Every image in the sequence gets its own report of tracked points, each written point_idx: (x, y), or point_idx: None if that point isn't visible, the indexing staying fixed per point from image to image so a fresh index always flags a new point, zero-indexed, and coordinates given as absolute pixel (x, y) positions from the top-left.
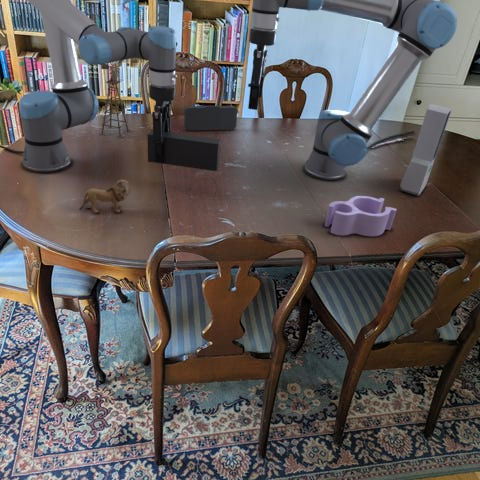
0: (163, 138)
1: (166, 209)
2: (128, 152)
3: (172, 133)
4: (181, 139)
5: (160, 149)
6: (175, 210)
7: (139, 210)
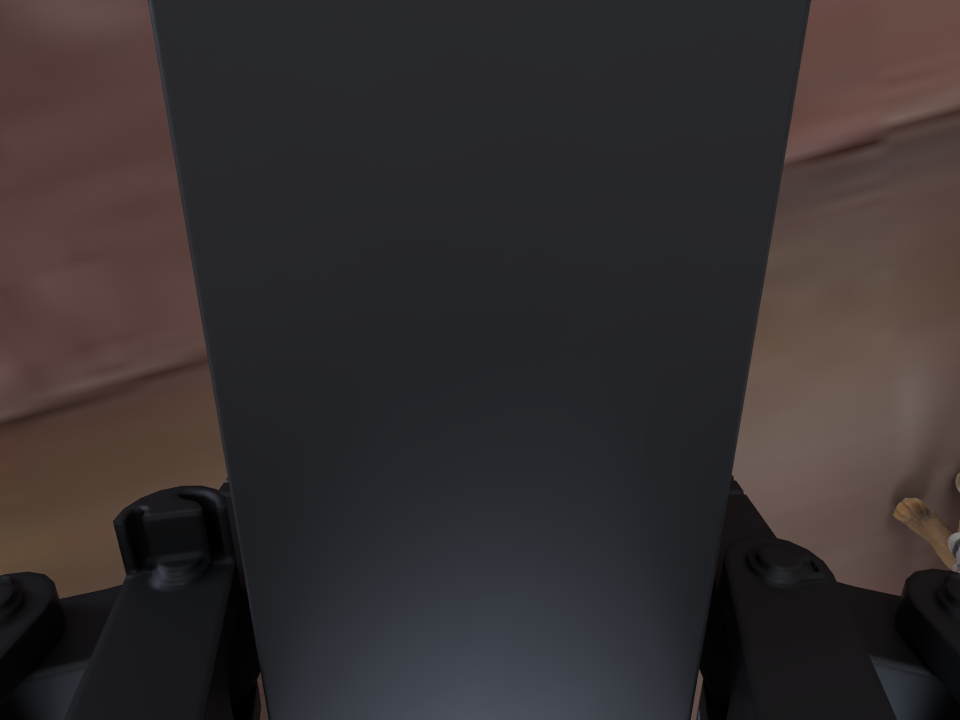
0: (761, 629)
1: (910, 143)
2: None
3: (319, 506)
4: (797, 44)
5: (749, 503)
6: (926, 55)
7: (935, 347)
